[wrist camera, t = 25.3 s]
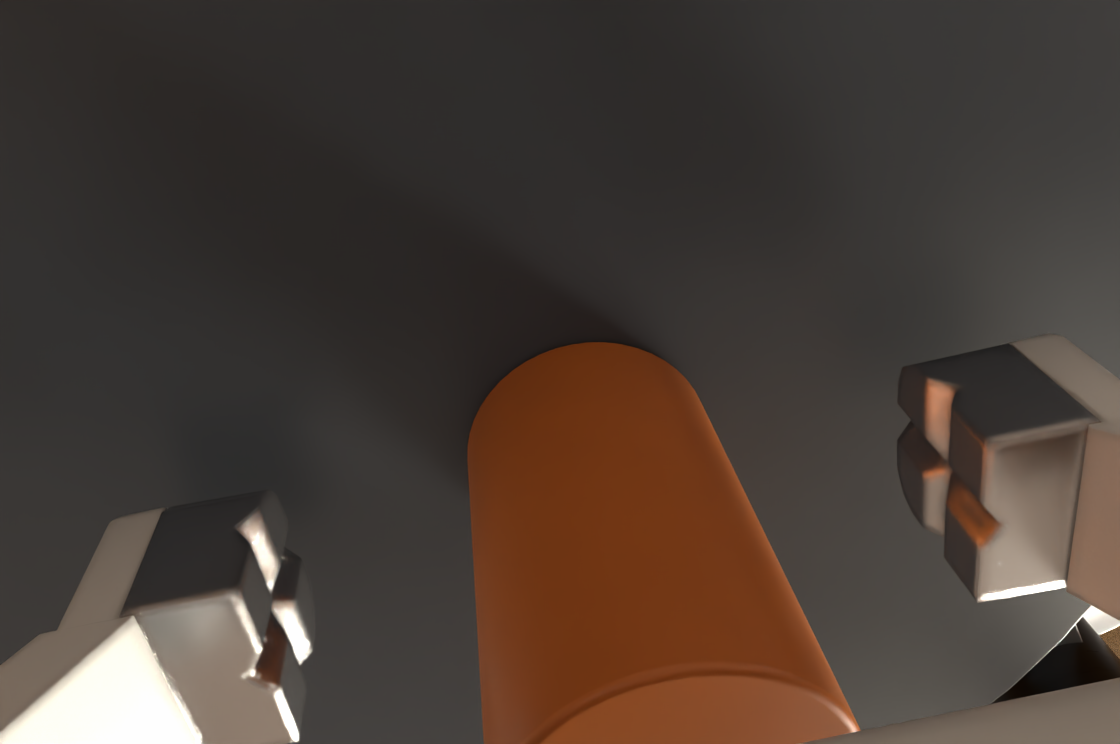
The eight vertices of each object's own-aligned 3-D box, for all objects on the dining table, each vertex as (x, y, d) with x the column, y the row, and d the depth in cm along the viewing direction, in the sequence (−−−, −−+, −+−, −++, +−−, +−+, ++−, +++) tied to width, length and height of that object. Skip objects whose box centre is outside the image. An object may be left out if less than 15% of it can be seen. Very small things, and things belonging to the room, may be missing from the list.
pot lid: (1314, -510, 8) (2701, -1078, 3) (1095, 704, 15) (1413, 1114, 10) (-467, -222, 8) (-2118, -351, 3) (171, 891, 15) (40, 1411, 10)
